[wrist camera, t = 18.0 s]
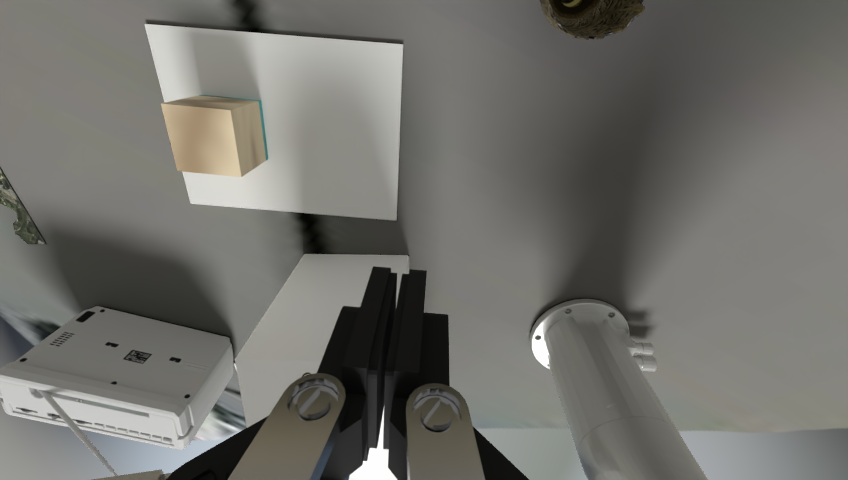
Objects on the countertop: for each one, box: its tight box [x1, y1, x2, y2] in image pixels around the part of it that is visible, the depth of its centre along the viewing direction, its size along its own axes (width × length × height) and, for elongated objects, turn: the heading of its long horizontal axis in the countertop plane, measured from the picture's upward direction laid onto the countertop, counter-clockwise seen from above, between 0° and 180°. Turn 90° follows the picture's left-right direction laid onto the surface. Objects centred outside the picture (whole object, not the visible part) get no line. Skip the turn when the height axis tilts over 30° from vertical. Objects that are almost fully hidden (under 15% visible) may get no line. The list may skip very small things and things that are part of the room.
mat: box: [145, 24, 403, 221], centre depth 38 cm, size 24×18×1 cm
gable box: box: [233, 254, 410, 480], centre depth 38 cm, size 22×13×28 cm, turn 1°
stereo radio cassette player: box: [0, 306, 234, 476], centre depth 44 cm, size 21×8×20 cm, turn 74°
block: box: [161, 95, 268, 177], centre depth 35 cm, size 6×6×6 cm
